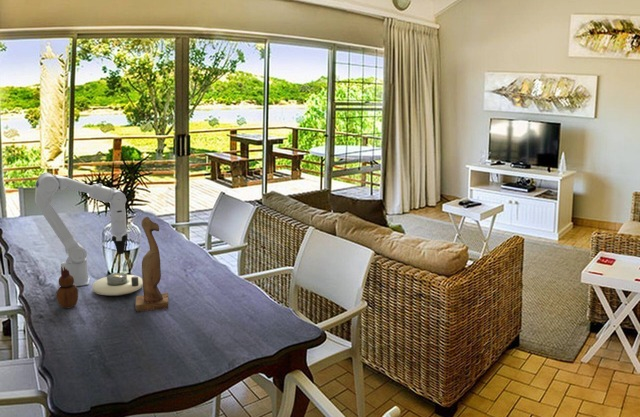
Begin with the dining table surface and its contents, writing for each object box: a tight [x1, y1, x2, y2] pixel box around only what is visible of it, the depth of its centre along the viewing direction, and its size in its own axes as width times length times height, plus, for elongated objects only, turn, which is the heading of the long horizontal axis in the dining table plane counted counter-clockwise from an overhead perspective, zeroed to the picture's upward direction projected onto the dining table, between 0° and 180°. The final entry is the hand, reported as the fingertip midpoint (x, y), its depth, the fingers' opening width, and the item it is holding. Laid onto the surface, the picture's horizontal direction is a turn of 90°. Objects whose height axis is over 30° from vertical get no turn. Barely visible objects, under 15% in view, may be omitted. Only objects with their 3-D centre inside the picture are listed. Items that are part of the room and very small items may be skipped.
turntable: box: [92, 274, 143, 296], centre depth 217 cm, size 18×18×5 cm
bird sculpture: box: [135, 216, 169, 313], centre depth 200 cm, size 11×12×32 cm
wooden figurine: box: [56, 266, 79, 309], centre depth 199 cm, size 7×6×15 cm
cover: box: [106, 272, 128, 286], centre depth 217 cm, size 7×7×3 cm
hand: (120, 253), depth 230 cm, fingers closed
